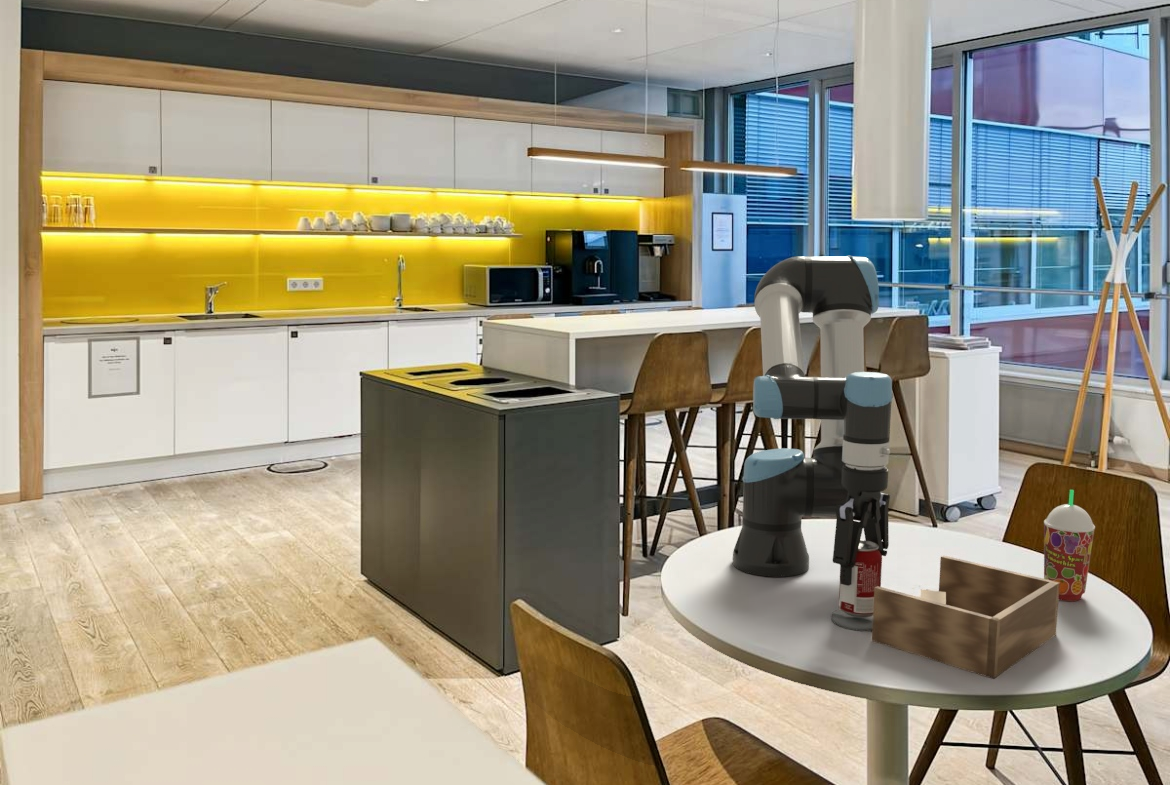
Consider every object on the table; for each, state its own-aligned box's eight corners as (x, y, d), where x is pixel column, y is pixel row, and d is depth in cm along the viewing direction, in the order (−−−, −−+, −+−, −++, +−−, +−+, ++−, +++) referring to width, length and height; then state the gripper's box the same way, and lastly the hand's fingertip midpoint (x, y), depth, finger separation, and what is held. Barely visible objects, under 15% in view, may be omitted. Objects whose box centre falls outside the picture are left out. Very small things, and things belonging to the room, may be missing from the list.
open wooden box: (872, 640, 160) (874, 587, 159) (940, 603, 177) (943, 555, 175) (993, 678, 146) (997, 620, 145) (1055, 634, 163) (1059, 582, 161)
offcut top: (919, 618, 163) (920, 601, 162) (920, 606, 168) (920, 589, 168) (945, 621, 161) (946, 604, 161) (944, 609, 167) (945, 592, 167)
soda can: (881, 620, 165) (884, 551, 163) (839, 618, 166) (842, 549, 164) (877, 606, 171) (880, 539, 169) (837, 603, 172) (840, 537, 171)
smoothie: (1035, 598, 180) (1042, 491, 177) (1043, 585, 186) (1050, 482, 184) (1086, 607, 175) (1094, 498, 172) (1092, 593, 182) (1100, 488, 179)
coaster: (821, 620, 169) (821, 617, 169) (849, 607, 175) (849, 604, 175) (868, 635, 162) (868, 631, 162) (895, 621, 169) (895, 617, 168)
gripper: (854, 478, 155) (848, 617, 159) (914, 459, 169) (907, 588, 172) (813, 470, 160) (808, 605, 164) (874, 453, 174) (869, 577, 178)
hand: (859, 596), depth 168 cm, fingers closed on soda can, 7 cm apart
